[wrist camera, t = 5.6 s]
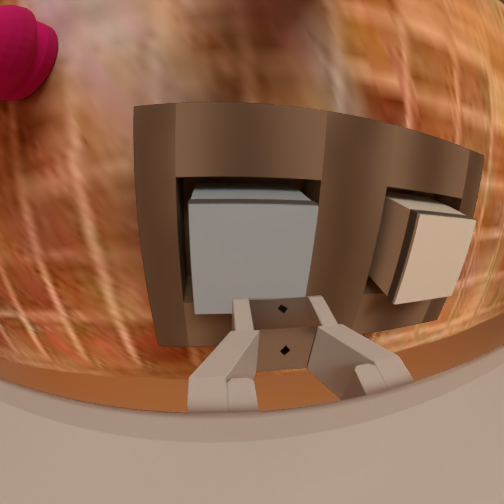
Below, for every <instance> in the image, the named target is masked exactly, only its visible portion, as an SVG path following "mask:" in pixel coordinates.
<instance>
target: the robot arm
mask: <svg viewBox="0 0 504 504" xmlns="http://www.w3.org/2000/svg"><path fill="white" fill-rule="evenodd" d="M299 368H307V370H308V371H310V372H311V373H312V374H313V375H314V376H315V377H316V378H317V379H318V380H320V381H321V382H322V383H323V384H324V385H325V386H326V387H327V388H328V389H330V390H331V391H332V392H333V393H334V394H335V395H336V396H337V397H339V398H340V401H335V402H330V403H324V404H318V405H311V406H305V407H297V408H289V409H281V410H271V411H259V408H258V402H257V396H256V390H255V384H254V381H253V378H254V376H255V374H256V372H264V371H274V370H285V369H299ZM0 504H504V345H502V346H500V347H498V348H496V349H494V350H492V351H490V352H488V353H486V354H483V355H481V356H479V357H477V358H475V359H473V360H470V361H468V362H466V363H463V364H461V365H458V366H456V367H453V368H451V369H448V370H446V371H443V372H441V373H438V374H435V375H432V376H430V377H427V378H424V379H421V380H418V381H414V380H413V378H412V376H411V375H410V373H409V372H408V370H407V368H406V367H405V365H404V364H403V362H402V361H401V359H400V358H399V356H398V355H396V354H394V353H392V352H390V351H389V350H387V349H385V348H383V347H382V346H380V345H378V344H376V343H374V342H373V341H371V340H369V339H367V338H366V337H364V336H362V335H360V334H359V333H357V332H355V331H353V330H352V329H350V328H348V327H346V326H345V325H343V324H338V323H337V321H336V320H335V318H334V316H333V314H332V312H331V311H330V309H329V307H328V305H327V303H326V302H325V300H324V298H323V296H321V295H317V296H306V297H293V298H232V331H230V332H229V333H228V334H227V336H226V337H225V338H224V339H223V340H222V341H221V342H220V344H219V345H218V346H217V347H216V348H215V349H214V350H213V351H212V352H211V354H210V355H209V356H208V357H207V358H206V359H205V360H204V361H203V362H202V364H201V365H200V366H199V367H198V368H197V369H196V370H195V371H194V372H193V373H192V375H191V376H190V377H189V385H188V402H187V413H178V412H160V411H148V410H138V409H129V408H122V407H114V406H108V405H101V404H96V403H90V402H85V401H80V400H75V399H71V398H66V397H62V396H58V395H54V394H50V393H46V392H43V391H39V390H36V389H32V388H29V387H26V386H23V385H20V384H17V383H14V382H11V381H8V380H5V379H3V378H0Z"/></svg>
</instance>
